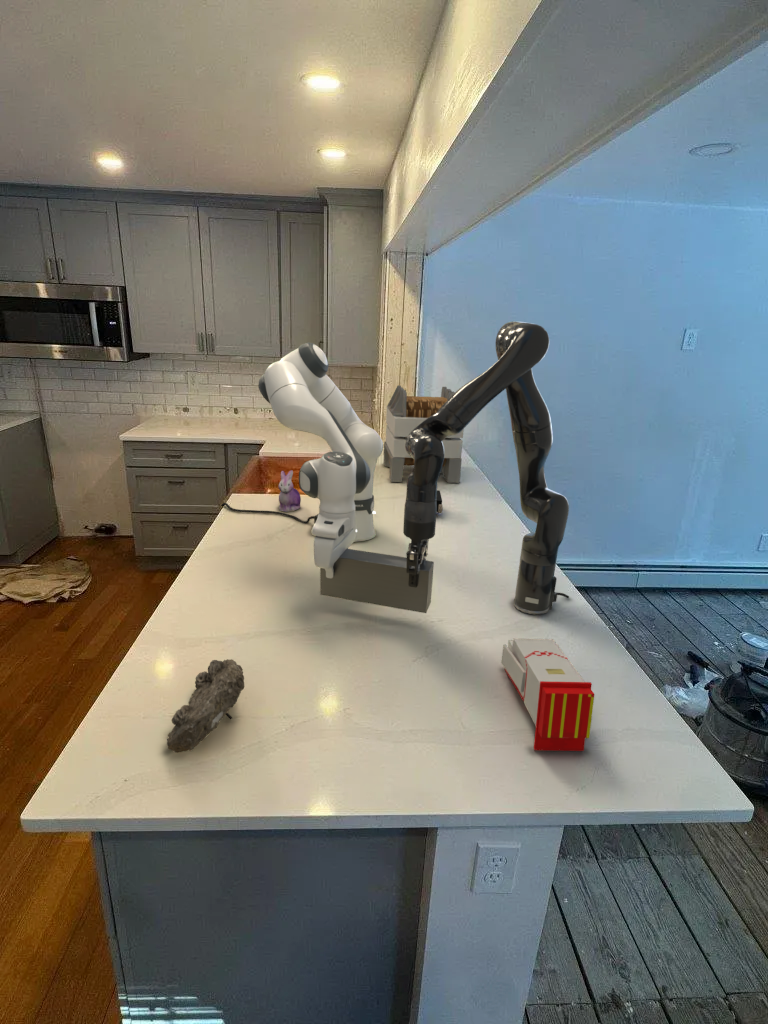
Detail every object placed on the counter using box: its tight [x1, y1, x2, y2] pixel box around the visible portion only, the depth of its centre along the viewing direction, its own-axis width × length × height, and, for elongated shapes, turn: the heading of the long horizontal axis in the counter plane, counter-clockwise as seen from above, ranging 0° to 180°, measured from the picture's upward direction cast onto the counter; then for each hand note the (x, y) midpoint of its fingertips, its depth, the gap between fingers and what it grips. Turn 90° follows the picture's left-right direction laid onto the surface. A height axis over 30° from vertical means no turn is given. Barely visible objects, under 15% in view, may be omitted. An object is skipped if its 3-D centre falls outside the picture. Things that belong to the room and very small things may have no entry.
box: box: [319, 548, 435, 614], centre depth 141 cm, size 28×6×11 cm, turn 74°
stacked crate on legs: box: [383, 384, 465, 484], centre depth 268 cm, size 34×33×41 cm
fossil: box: [166, 658, 245, 754], centre depth 106 cm, size 22×10×15 cm
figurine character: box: [436, 489, 443, 518], centre depth 221 cm, size 7×8×15 cm
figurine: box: [278, 469, 302, 513], centre depth 217 cm, size 9×10×15 cm
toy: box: [500, 637, 595, 752], centre depth 114 cm, size 12×13×30 cm
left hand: (336, 570), depth 143 cm, fingers open, 7 cm apart
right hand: (416, 580), depth 138 cm, fingers closed on box, 5 cm apart
